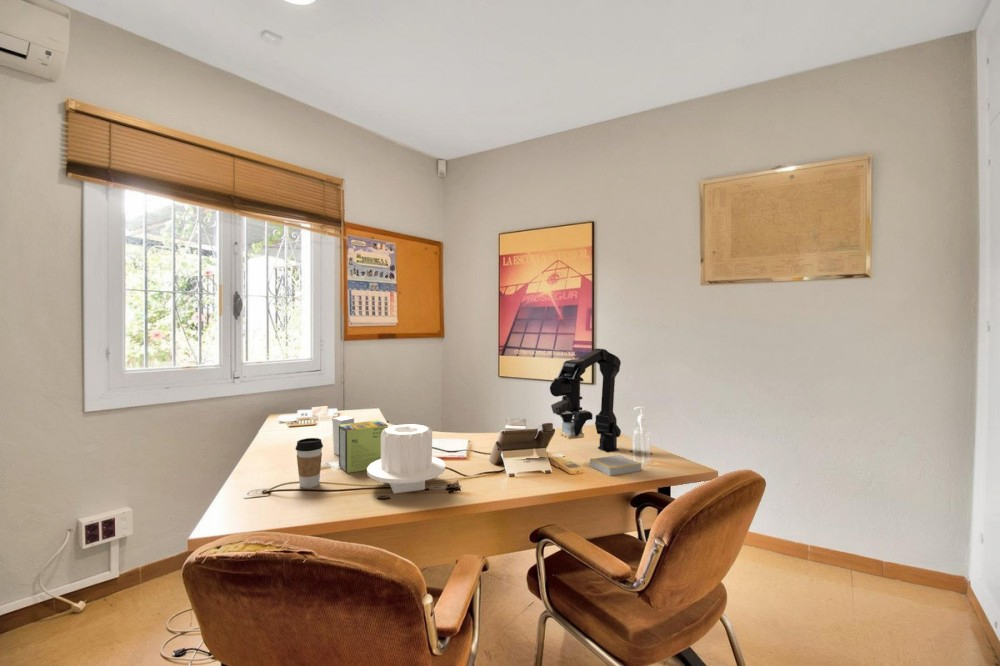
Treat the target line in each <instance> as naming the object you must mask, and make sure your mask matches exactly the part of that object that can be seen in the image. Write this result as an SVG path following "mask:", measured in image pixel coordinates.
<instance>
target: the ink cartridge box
mask: <svg viewBox="0 0 1000 666" xmlns="http://www.w3.org/2000/svg"><path fill="white" fill-rule="evenodd" d="M505 420H506V423H505V426H504V432H505V431H509V430H523V429H526V430H527V419H526V418H523V417H522V418H520V417H519V418H518V417H506V419H505Z"/></svg>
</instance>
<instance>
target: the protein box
mask: <svg viewBox="0 0 1000 666" xmlns="http://www.w3.org/2000/svg"><path fill="white" fill-rule="evenodd" d="M388 426H389V425H388V424H387V423H384V422H383V421H381V420H379V419H374V420H369V421H367V420H366V421H359V422H354V423H351V424H343V425H339V455H338V466H339V467H340V469H342V470H343V471H344V472H345V473H346V474H350V473H357V472H361V471H367V467H368V466H369V465H370V464H371V463H373V462H375V461H377V460H379V459H381V433H382V431H383V430H384V429H385V428H388Z"/></svg>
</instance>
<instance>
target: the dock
mask: <svg viewBox="0 0 1000 666" xmlns="http://www.w3.org/2000/svg"><path fill="white" fill-rule="evenodd" d="M589 466H590V467H592V468H594V469H596V470H597V471H600V472H601V473H603V474H606V475H607V476H609V477H611V476H617V475H622V474H630V473H636V472H641V471H642V462H638V461H635V460H633V459H631V458H628V457H625V456H624V455H620V454H617V455H611V456H610V455H609V456H604V457H597V458H589Z"/></svg>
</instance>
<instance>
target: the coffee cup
mask: <svg viewBox="0 0 1000 666" xmlns="http://www.w3.org/2000/svg"><path fill="white" fill-rule="evenodd" d="M323 447H324V444H323V441H322V439H321V438H318V437H309V438H308V437H307V438H302V439H300V440H297V442H296V446H295V450H296V462H297V463H296V464H297V471H298V472H297V473H298V480H299V486H300V488H302V487H303V489H310V488H315V487H317V486H319V485H320V481H321V479H320V477H321V476H320V475H321V467H322V457H323V453H322V449H323Z"/></svg>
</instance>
